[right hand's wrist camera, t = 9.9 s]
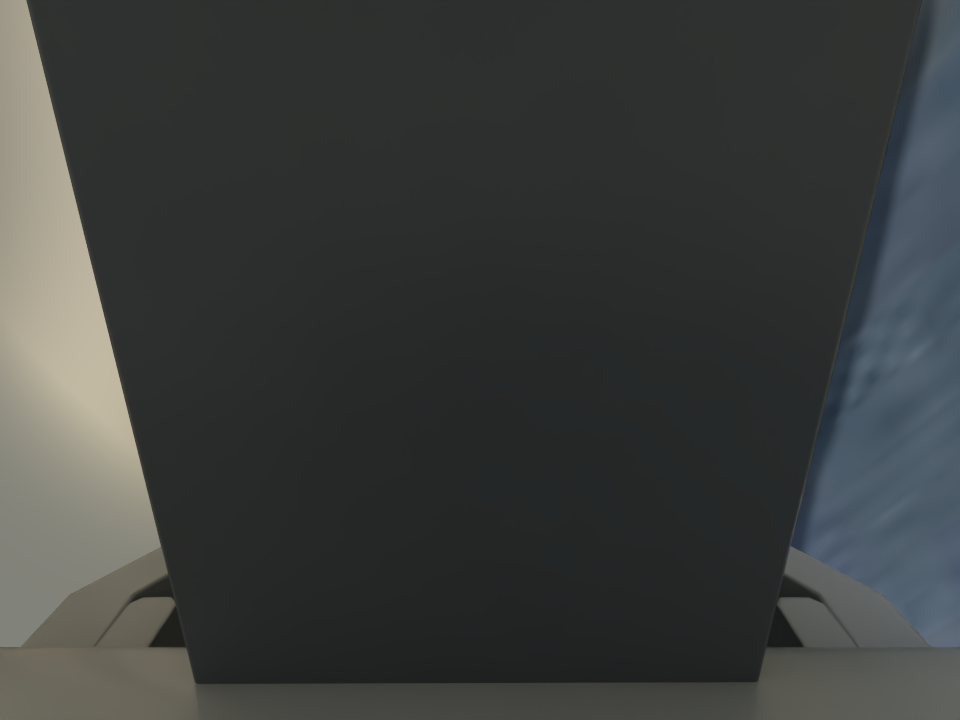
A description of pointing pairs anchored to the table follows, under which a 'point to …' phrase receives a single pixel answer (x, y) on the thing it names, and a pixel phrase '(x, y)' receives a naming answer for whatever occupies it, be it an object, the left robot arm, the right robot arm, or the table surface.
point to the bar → (475, 315)
